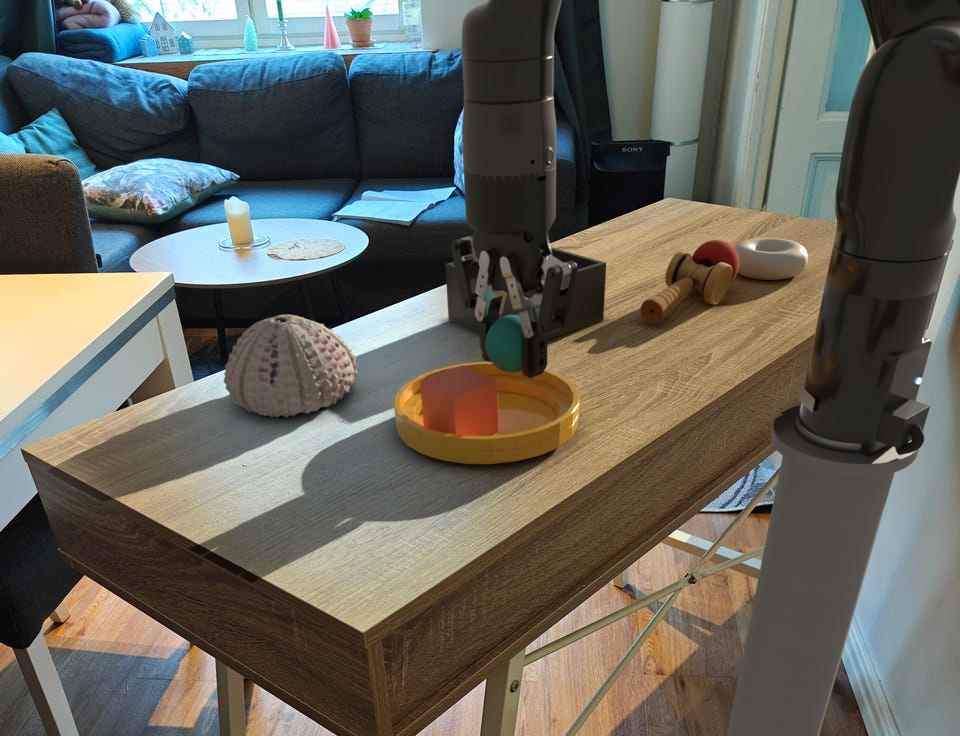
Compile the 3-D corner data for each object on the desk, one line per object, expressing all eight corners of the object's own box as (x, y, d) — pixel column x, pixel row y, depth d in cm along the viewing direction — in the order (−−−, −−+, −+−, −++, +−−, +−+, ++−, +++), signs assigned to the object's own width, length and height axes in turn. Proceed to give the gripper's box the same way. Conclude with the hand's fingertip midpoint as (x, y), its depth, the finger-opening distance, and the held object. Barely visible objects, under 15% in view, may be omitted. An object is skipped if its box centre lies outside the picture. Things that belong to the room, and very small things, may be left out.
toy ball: (551, 369, 82) (551, 315, 79) (511, 385, 80) (510, 330, 77) (514, 356, 86) (513, 303, 82) (475, 371, 83) (472, 317, 80)
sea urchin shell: (386, 394, 91) (377, 316, 86) (276, 439, 84) (260, 356, 79) (309, 362, 99) (298, 288, 94) (202, 400, 92) (184, 322, 87)
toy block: (498, 431, 83) (497, 380, 79) (456, 449, 80) (453, 396, 77) (464, 415, 86) (462, 364, 83) (423, 431, 83) (419, 379, 80)
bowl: (616, 428, 84) (618, 397, 82) (475, 490, 75) (473, 458, 74) (497, 376, 94) (496, 348, 92) (361, 425, 86) (358, 396, 84)
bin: (603, 320, 106) (606, 262, 102) (521, 349, 100) (520, 289, 96) (529, 295, 114) (529, 240, 110) (448, 320, 108) (445, 263, 104)
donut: (731, 259, 124) (723, 280, 116) (735, 233, 121) (727, 252, 114) (807, 264, 121) (803, 285, 113) (812, 237, 119) (809, 257, 111)
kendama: (686, 342, 103) (756, 279, 112) (679, 288, 99) (753, 227, 108) (629, 340, 108) (701, 280, 117) (620, 289, 104) (695, 230, 113)
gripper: (418, 159, 74) (433, 358, 85) (537, 182, 66) (537, 401, 76) (486, 145, 78) (492, 337, 89) (607, 165, 69) (598, 376, 80)
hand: (513, 366), depth 82 cm, fingers closed on toy ball, 5 cm apart
